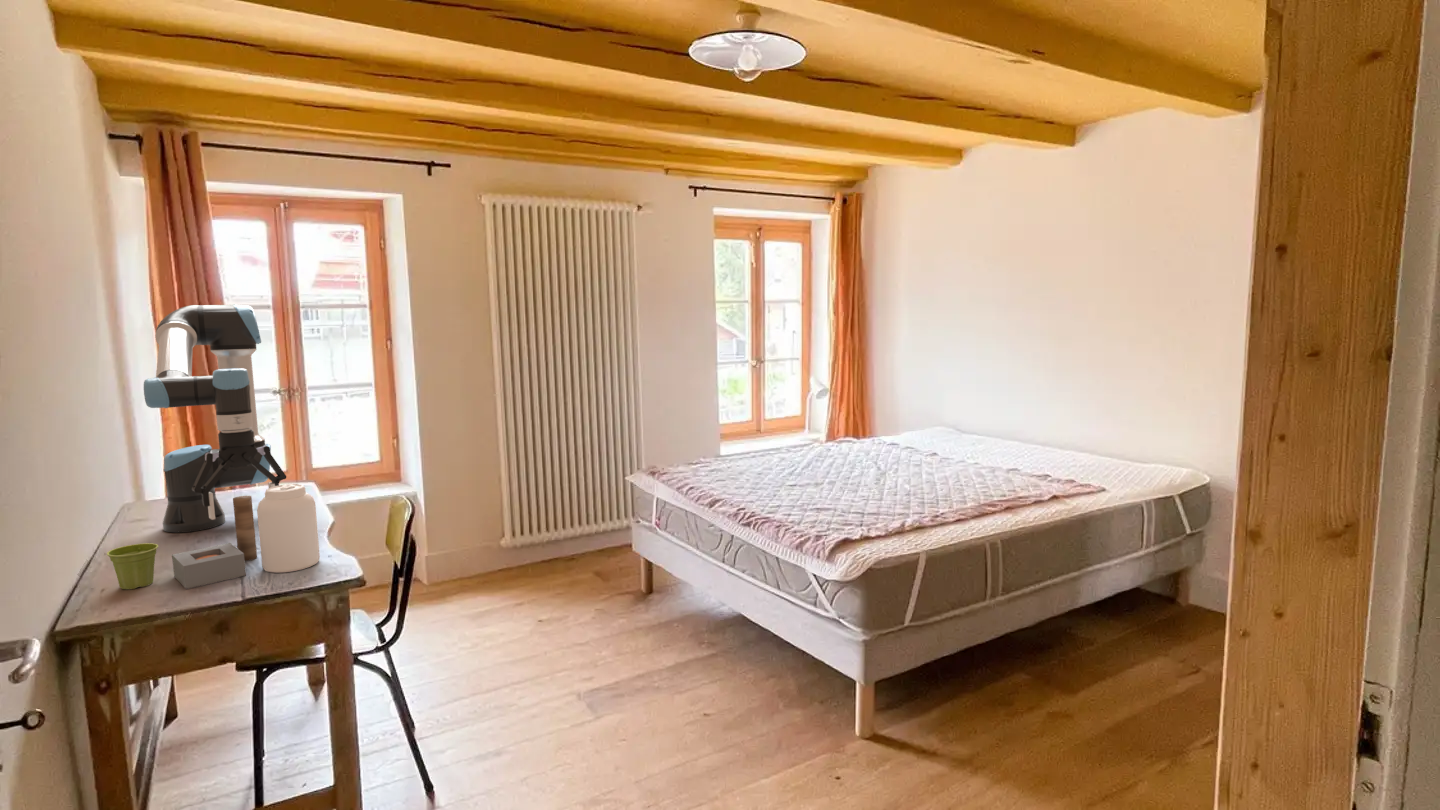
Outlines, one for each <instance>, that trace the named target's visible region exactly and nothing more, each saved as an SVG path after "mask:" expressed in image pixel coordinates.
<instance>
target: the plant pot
mask: <svg viewBox="0 0 1440 810" xmlns="http://www.w3.org/2000/svg"><path fill="white" fill-rule="evenodd" d="M158 548H159V544H157V543H151V542H149V543H148V542H147V543H146V542H145V543H143V542H141V543H136V544H129V545H123V546H121V547H120V546H119V547H116V548H113V549H111V550H109V551H107V552H106V555H107V556H108V557H109V558H110V561H111V562H112V565H113V568H114V572H115V575H116V578H117V582H118V585H119V587H120V589H122V590H135V589H137V588H140V587H143V588H145V587H146V586H150V585H152V584H153V583H154V576H155V575H154V573H155V561H156V560H155V559H156V554H157V552H158V551H157V549H158Z"/></svg>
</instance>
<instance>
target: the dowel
mask: <svg viewBox="0 0 1440 810" xmlns="http://www.w3.org/2000/svg"><path fill="white" fill-rule="evenodd" d="M232 503H233V514H234V524H235V534H236V535H235V536H236V544H237V546H236V548H237V549H239V550H240V551H241V552H243V553H244V559H245V562H247V561H253V560H255V559H257V558H258V553H257V552H258V551H257V543H256V531H255V521H254V520H255V519H254V518H255V517H254V512H253V511H254V510H253V499H252V495H241V496H236V497H233V498H232Z"/></svg>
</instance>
